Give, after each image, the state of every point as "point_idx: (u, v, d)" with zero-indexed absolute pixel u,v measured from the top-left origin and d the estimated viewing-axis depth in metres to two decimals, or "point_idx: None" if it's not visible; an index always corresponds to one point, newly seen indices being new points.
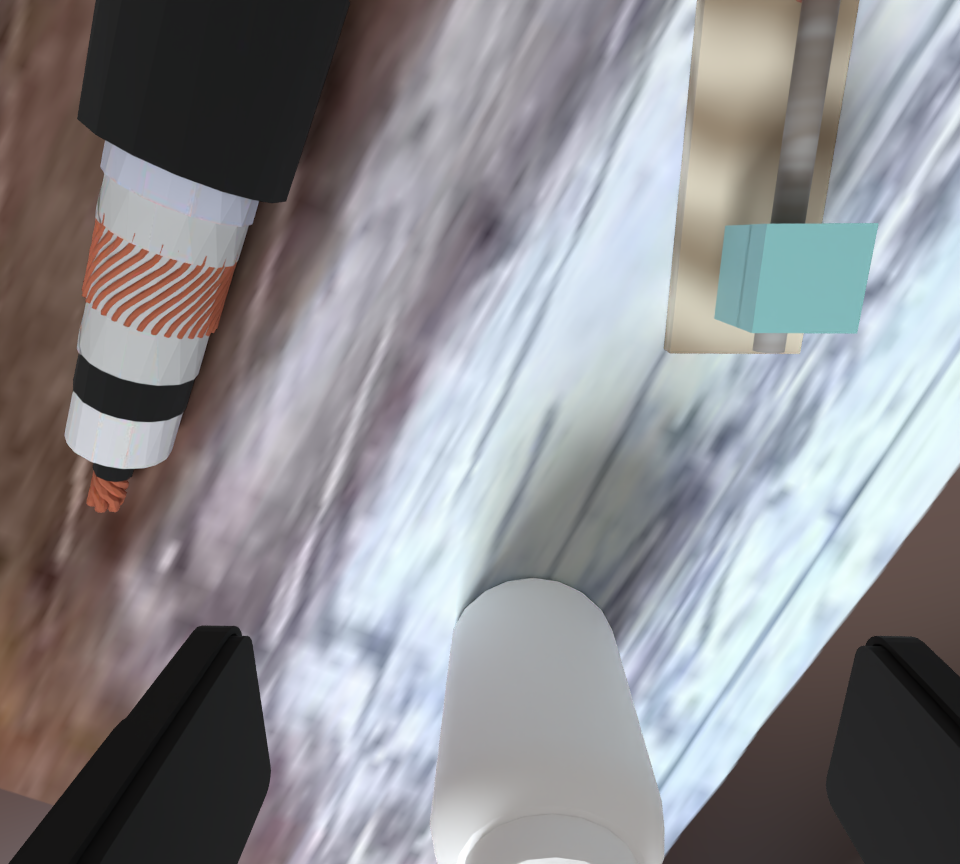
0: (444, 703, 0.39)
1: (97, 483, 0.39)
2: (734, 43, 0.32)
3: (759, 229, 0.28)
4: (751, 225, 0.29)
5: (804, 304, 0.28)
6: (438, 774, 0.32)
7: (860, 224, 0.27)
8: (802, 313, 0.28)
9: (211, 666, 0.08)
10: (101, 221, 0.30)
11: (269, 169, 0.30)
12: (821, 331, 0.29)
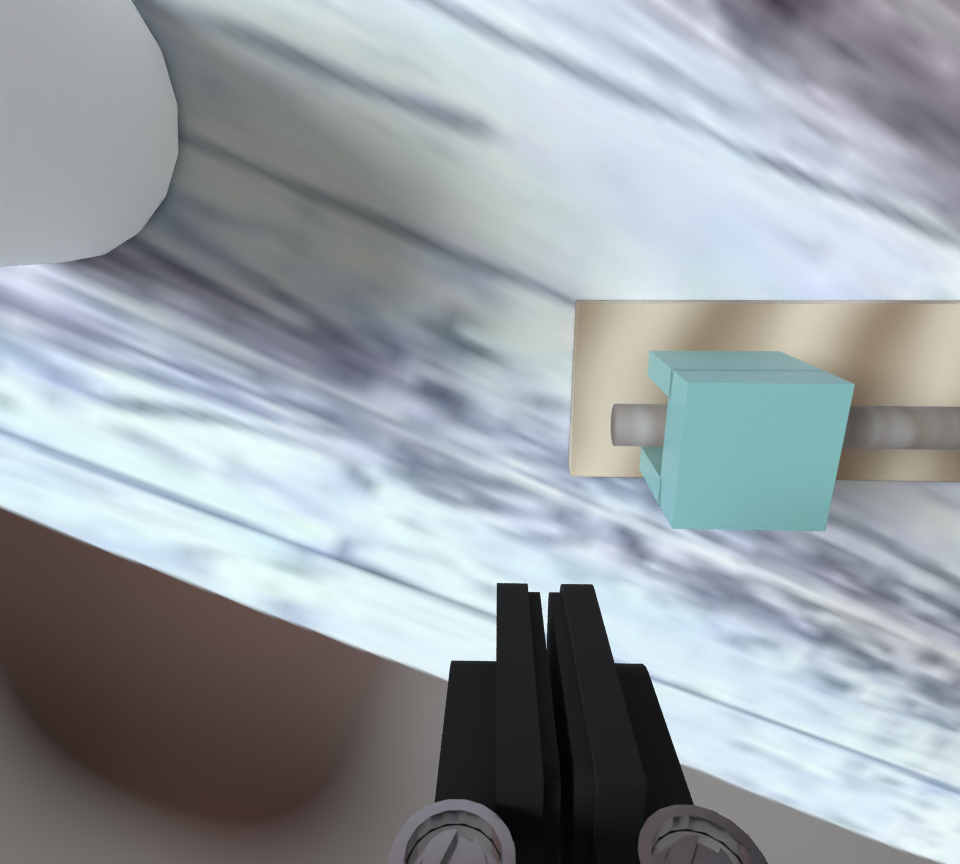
0: None
1: None
2: None
3: (833, 377, 0.19)
4: (823, 371, 0.20)
5: (723, 453, 0.19)
6: None
7: (827, 509, 0.19)
8: (710, 452, 0.19)
9: (532, 615, 0.09)
10: None
11: None
12: (680, 481, 0.19)
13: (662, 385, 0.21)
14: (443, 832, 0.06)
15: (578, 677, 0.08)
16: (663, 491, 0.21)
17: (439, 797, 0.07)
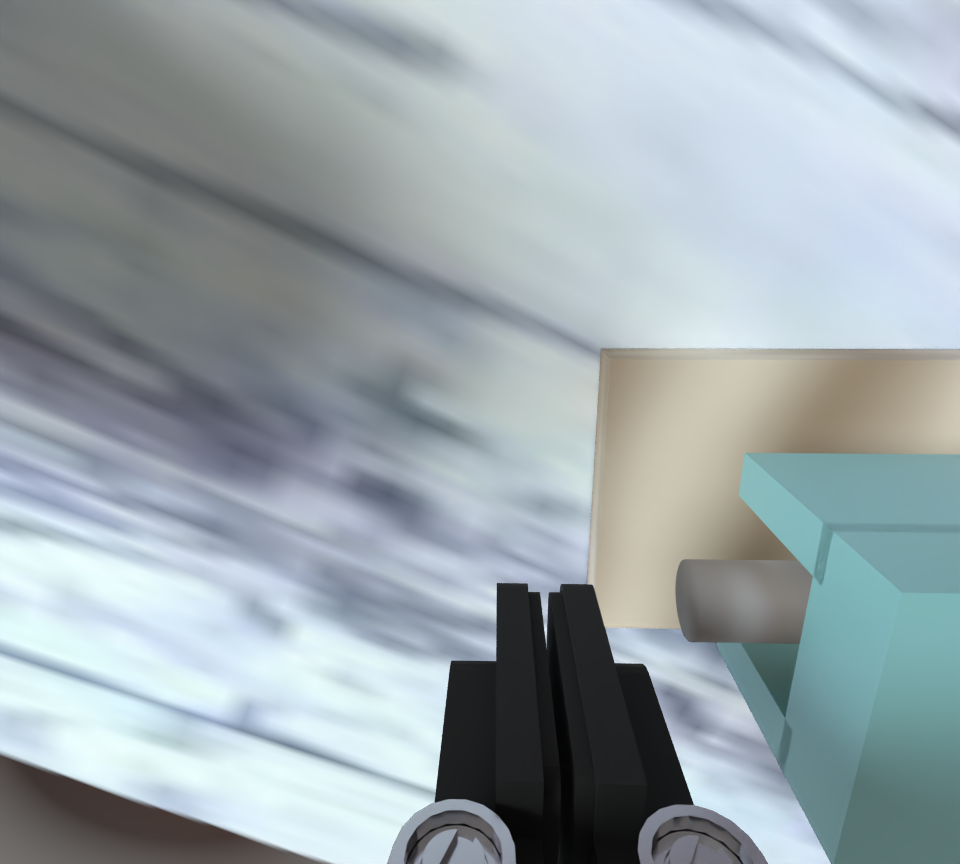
0: None
1: None
2: None
3: None
4: None
5: None
6: None
7: None
8: (934, 730, 0.08)
9: (532, 615, 0.09)
10: None
11: None
12: (860, 785, 0.09)
13: (790, 540, 0.11)
14: (443, 832, 0.06)
15: (578, 677, 0.08)
16: (797, 756, 0.10)
17: (439, 797, 0.07)
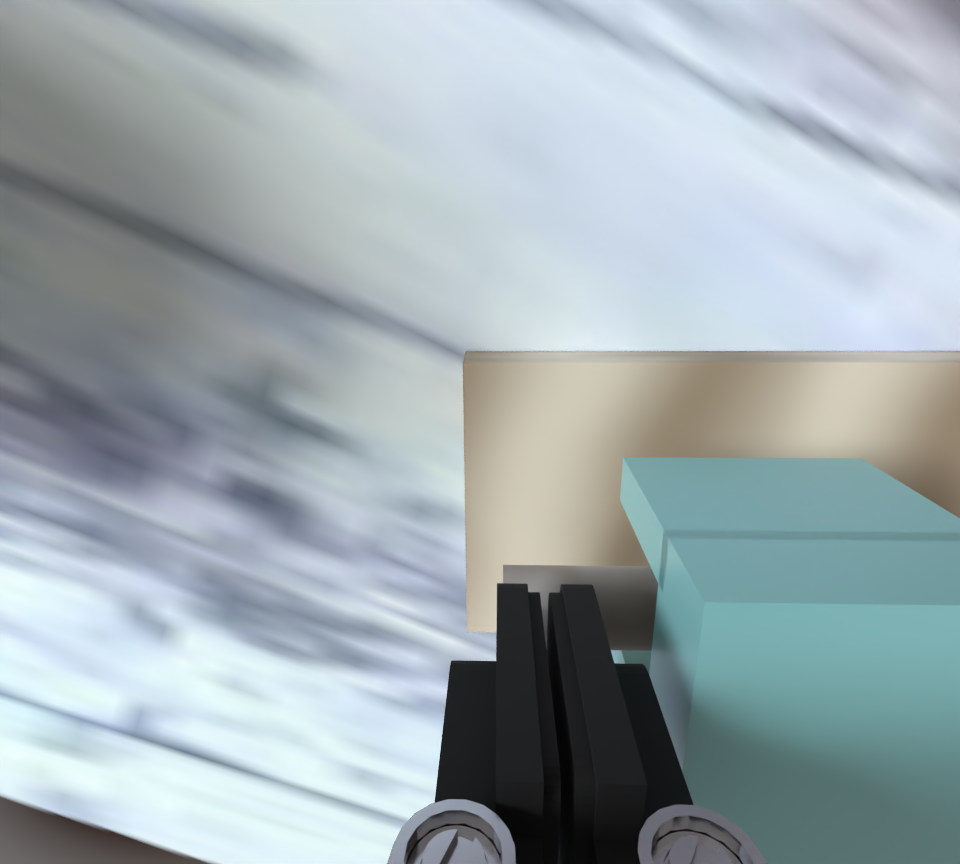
0: None
1: None
2: None
3: None
4: None
5: (784, 743, 0.08)
6: None
7: None
8: (754, 741, 0.08)
9: (532, 615, 0.09)
10: None
11: None
12: None
13: (646, 546, 0.11)
14: (443, 832, 0.06)
15: (578, 677, 0.08)
16: None
17: (439, 797, 0.07)
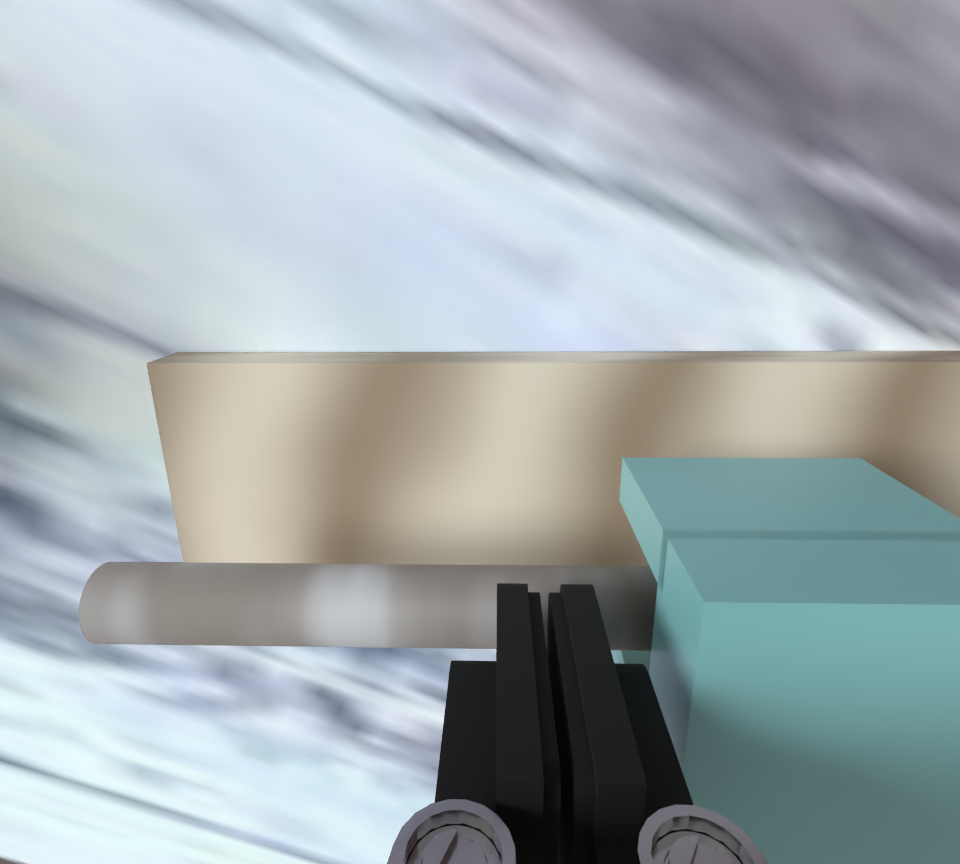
0: None
1: None
2: (803, 431, 0.15)
3: None
4: None
5: (784, 743, 0.08)
6: None
7: None
8: (753, 741, 0.08)
9: (532, 615, 0.09)
10: None
11: None
12: None
13: (645, 546, 0.11)
14: (443, 832, 0.06)
15: (578, 677, 0.08)
16: None
17: (439, 797, 0.07)
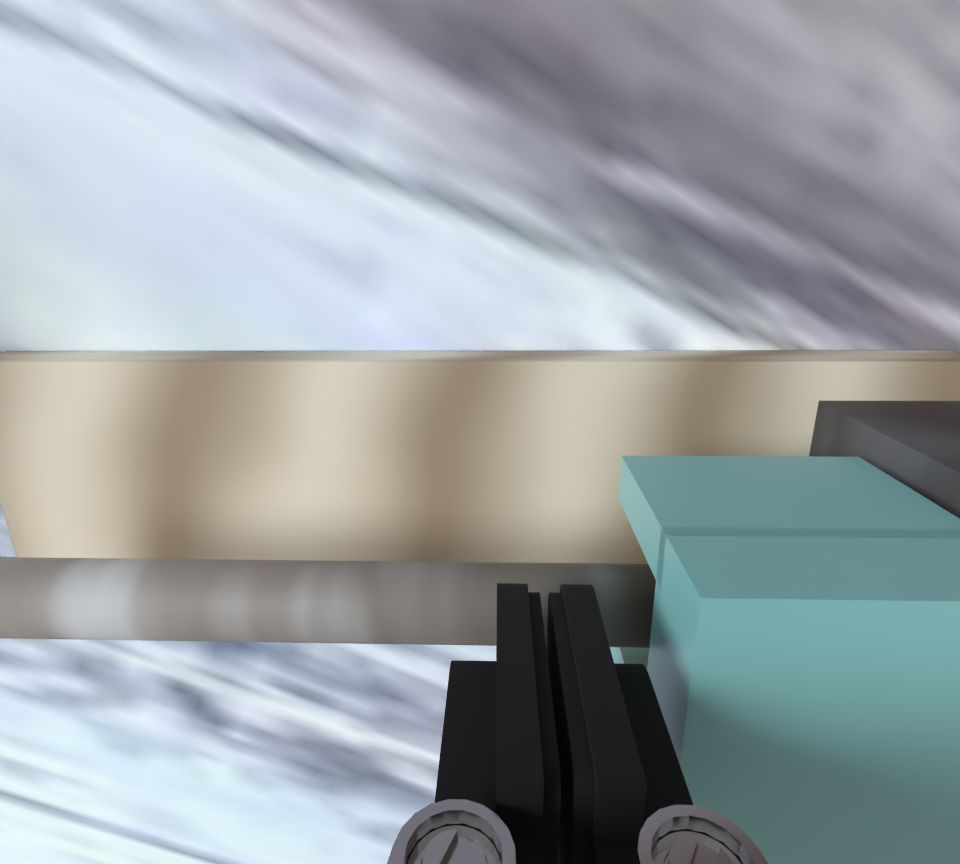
0: None
1: None
2: (608, 429, 0.15)
3: None
4: None
5: (780, 738, 0.08)
6: None
7: None
8: (750, 736, 0.08)
9: (532, 615, 0.09)
10: None
11: None
12: None
13: (644, 543, 0.11)
14: (443, 832, 0.06)
15: (578, 677, 0.08)
16: None
17: (439, 797, 0.07)
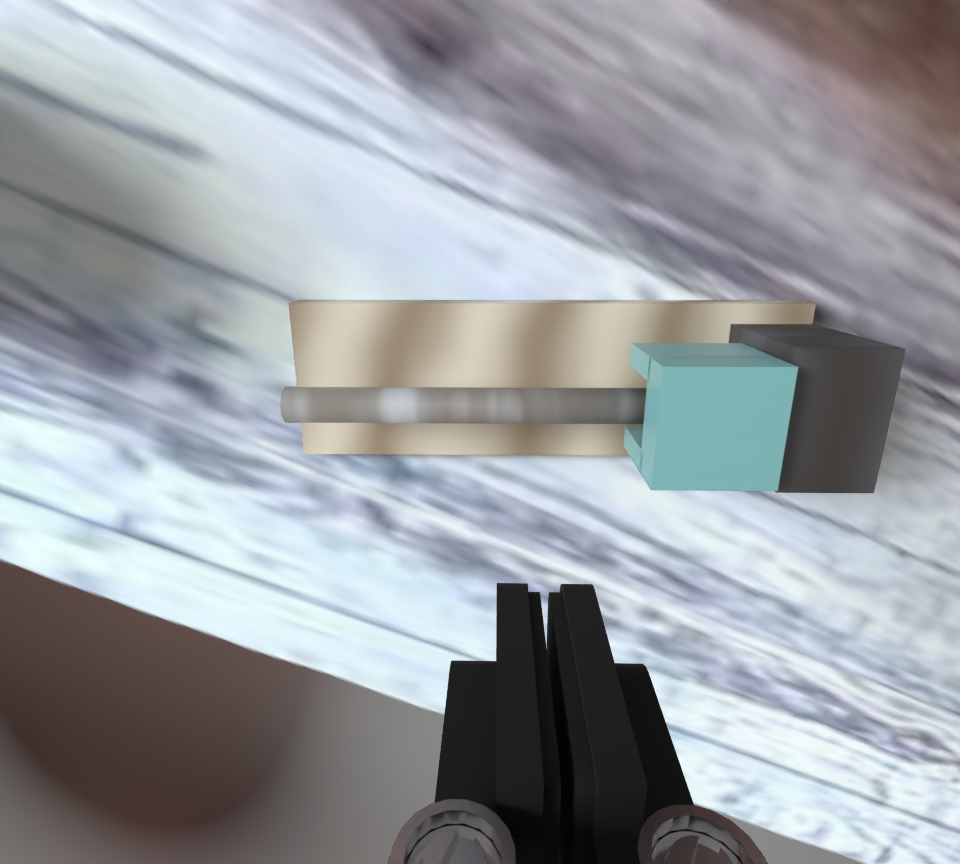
0: None
1: None
2: (623, 339, 0.30)
3: (782, 362, 0.23)
4: (775, 358, 0.24)
5: (692, 425, 0.23)
6: None
7: (779, 472, 0.23)
8: (681, 424, 0.23)
9: (532, 615, 0.09)
10: None
11: None
12: (657, 450, 0.23)
13: (642, 371, 0.25)
14: (443, 832, 0.06)
15: (578, 677, 0.08)
16: (643, 460, 0.25)
17: (439, 797, 0.07)
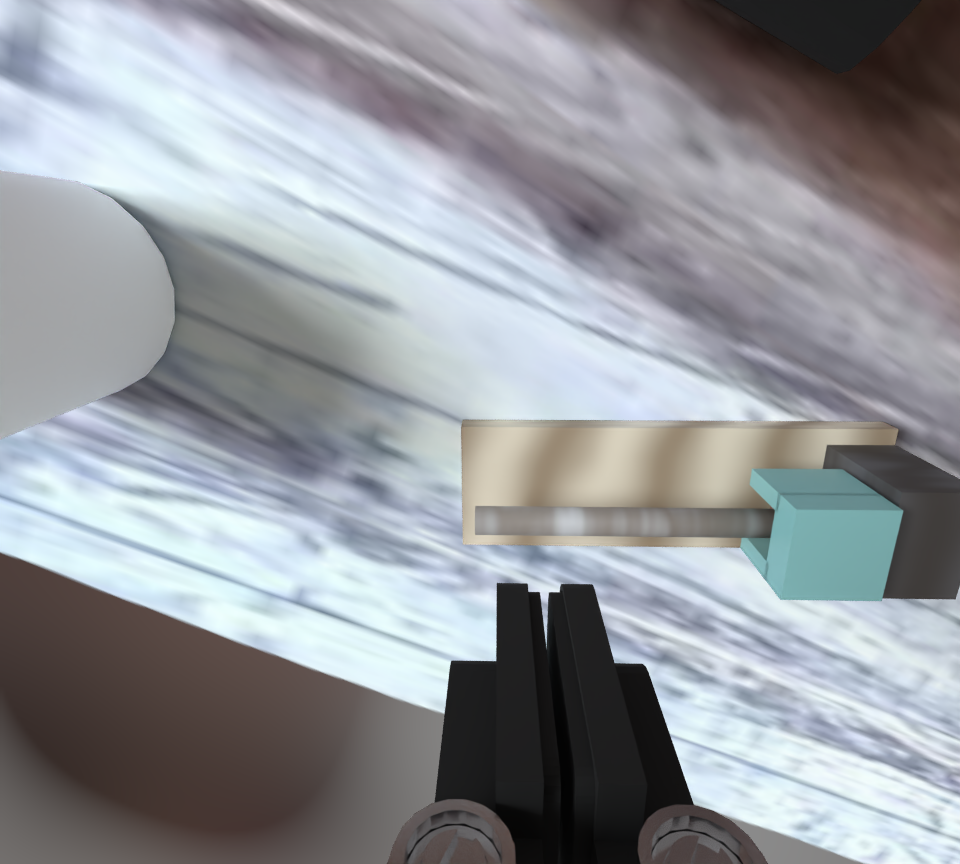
0: None
1: None
2: (737, 456, 0.36)
3: (888, 503, 0.29)
4: (879, 495, 0.30)
5: (817, 552, 0.29)
6: None
7: (883, 587, 0.30)
8: (808, 551, 0.29)
9: (532, 615, 0.09)
10: None
11: None
12: (787, 570, 0.29)
13: (768, 499, 0.31)
14: (443, 832, 0.06)
15: (578, 677, 0.08)
16: (770, 572, 0.31)
17: (439, 797, 0.07)
